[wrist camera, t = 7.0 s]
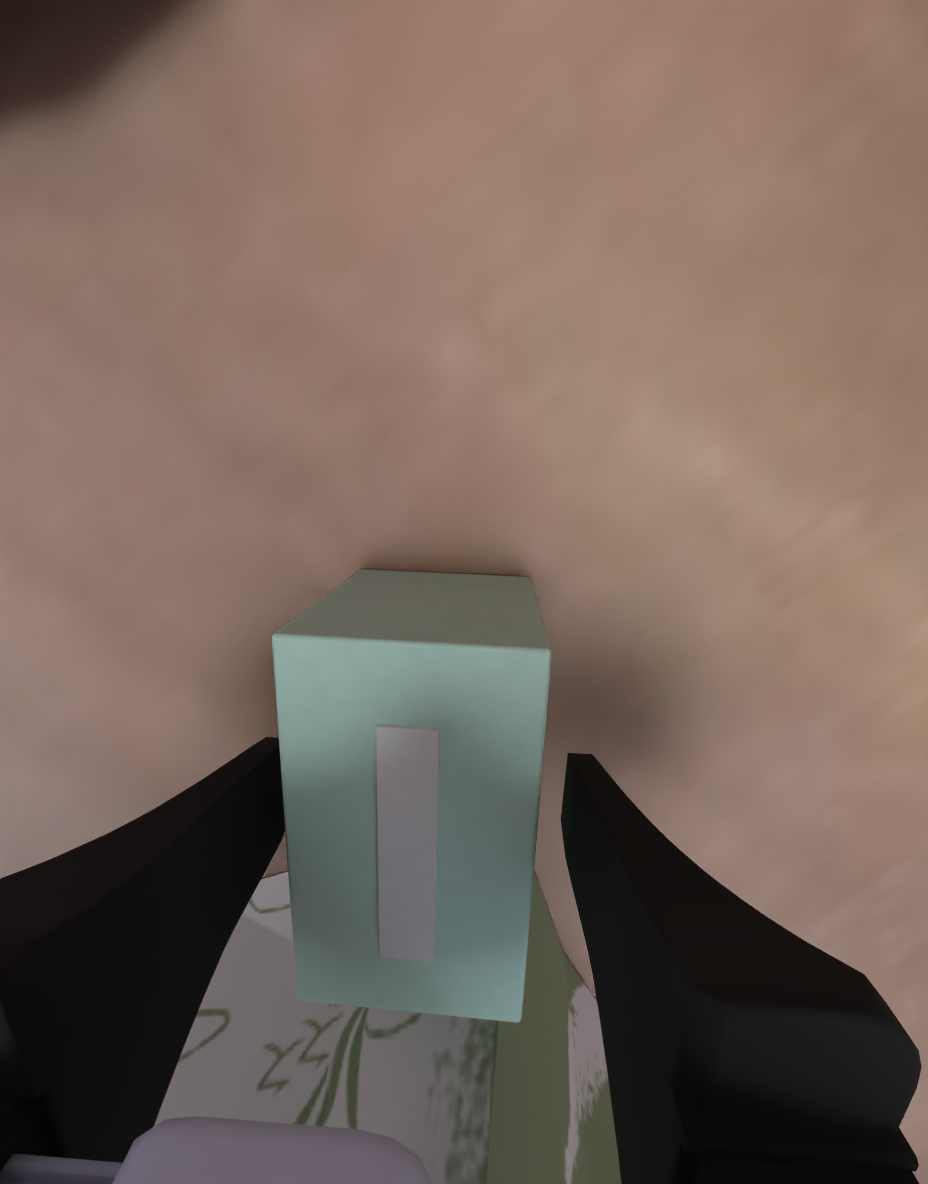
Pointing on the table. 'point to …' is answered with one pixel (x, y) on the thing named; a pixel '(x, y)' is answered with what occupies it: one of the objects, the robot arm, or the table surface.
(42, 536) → the table surface
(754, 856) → the table surface
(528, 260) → the table surface
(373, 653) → the mint tissue box
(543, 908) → the grocery bag
